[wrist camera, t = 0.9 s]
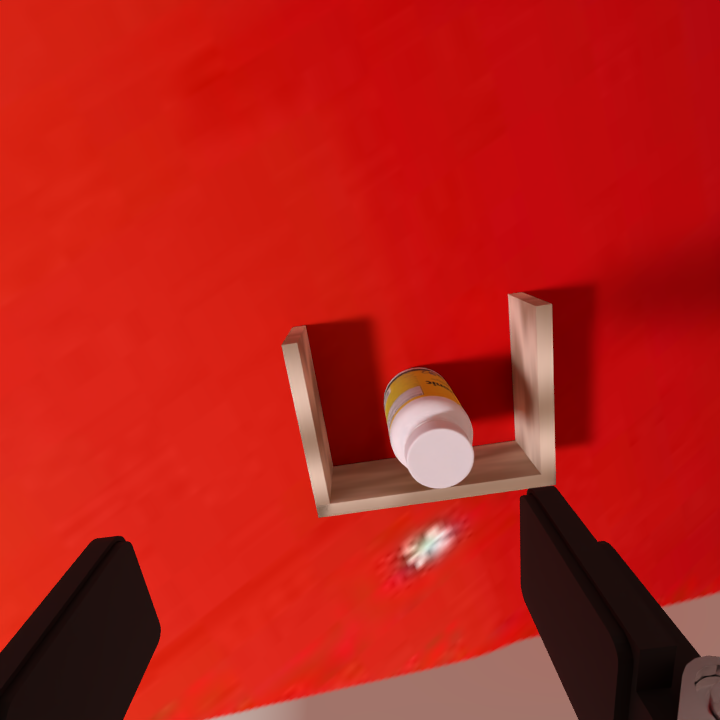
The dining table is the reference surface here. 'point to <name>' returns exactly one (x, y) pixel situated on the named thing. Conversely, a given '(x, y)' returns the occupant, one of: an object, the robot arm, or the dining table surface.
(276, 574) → the dining table surface
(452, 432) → the supplement bottle
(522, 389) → the open-sided box
